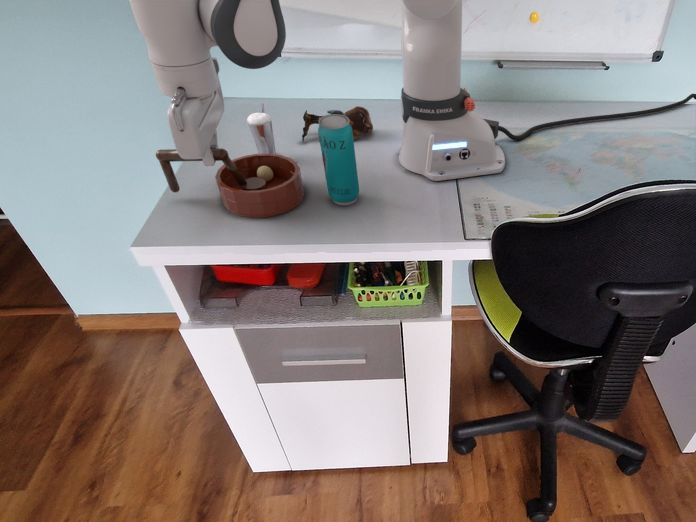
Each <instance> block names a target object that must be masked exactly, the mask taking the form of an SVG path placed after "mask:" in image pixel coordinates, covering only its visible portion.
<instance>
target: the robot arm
mask: <svg viewBox="0 0 696 522" xmlns="http://www.w3.org/2000/svg"><path fill="white" fill-rule="evenodd" d="M128 1H129V5H130V8H131V11H132V15H133V18H134V20H135V23H136V26H137V28H138V30H139V32H140V33H141V35H142V37H143V38H144V40H145V43H146V46H147V56H148V60H149V63H150V65H151V69H152V72H153V75H154V77H155V80H156V83H157V86H158V89H159V92H160V93H161V94H162V95H164V96H166V97H169V98H171V99H170V105H169V106H168V109H167V112H166V114H167V122H168V126H169V130H170V133H171V137H172V140H173V141H172V142H173V143H174V147H175V149H176V150H177V153H178V155H179V156H180V157H181V158H182V159H202V160H203V161H202V162H203V165H204V166H206V167H214V166H215V165H216V162H217V161H216V158H215V155H214V152H212V151H211V149H220V147H219V144H218V143H219V142H218V133H217V128H218V126H219V123H220V122H221V119H222V116H223V114H224V112H225V100H224V95H223V90H222V85H221V81H220V76H219V73H220V64H219V60H218V58H217V57H214V56H212V54H211V49H212V48H213V47H218V49H220V51H221V52H222V54H223V55H224V56H225V57H226V59H228V60H229V61H230V62H231V63H233V64H234V65H236V66H238V67H241V68H244V69H247V70H248V69H249V70H257V69H263V68H265V67H268V66H270V65H271V64H273V63H274V62H276V60H277V59H279V57H280V56H281V53H282V52H283V50H284V47H285V45H286V44H285V43H286V37H287V31H286V23H285V18H284V15H283V12H282V7H281V3H280V0H128ZM400 3H401V4H400V5H401V40H400V41H401V65H402V67H401V68H402V88H401V93H400V107H401V110H400V111H401V118H402V120H403V127H402V129H403V130H402V138H401V145H400V149H399V150H400V151H399V153H398V163H399V164H400V165H401V166H402V167H403V168H404V169H406V170H408V171H410V172H412V173H415V174H419V175H422V176H424V177H425V178H427V179H429V180H430V181H433V182H439V181H440V182H441V181H446V180H455V179H463V178H470V177H477V176H485V175H492V174H493V175H494V174H500V173H502V172H503V171H504V170H505V167H506V156H505V153H504V151H503V149H502V148H501V147H500V145H499V144H497V142H496V139H497V137H498V136H499V132H502V133H503V134H504V135H506V136H507V137H508V138H509V139H511V140H512V141H522V140H524V139H526V138H527V137H528V136H530V135H531V134H532V133H533V132H536V131H539V130H542V129H547V128H551V127H556V126H562V125H567V124H568V125H569V124H576V123H582V122H583V123H585V122H591V121H600V120H602V121H603V120H610V119H611V120H612V119H619V118H628V117H629V118H630V117H636V116H643V115H644V116H645V115H649V114H654V113H659V112H663V111H666V110H671V109H674V108H677V107H680V106H682V105H684V104H685V105H686V104H687V103H688V102H689V101H690V100H692V99H694V100H696V93H695V94H694V93H691V94H689V95H688V96H686V98H684V99H682V100H679V101H677V102H674V103H670V104H666V105H662V106H658V107H655V108H654V107H653V108H649V109H644V110H637V111H629V112H622V113H612V114H611V113H610V114H602V115H594V116H592V115H591V116H585V117H584V116H583V117H575V118H568V119H561V120H555V121H550V122H545V123H541V124H538V125H534V126H532V127H530V128H529V129H527V130H526V131H525V132H524V133H522V134H519V135H514V134H513V133H512V132H510V130H508V128H506V127H504V126H502V125H500V121H498V120H491V119H486V118H482V117H481V115H480V116H479V115H478V114H477V113H476V112H474V110H475V109H476V103H475V100H474V99H473V98H472V97H471V94H470V93H469V92H468V91H467V89H466V87H463V88H462V87H461V82H462V81H461V79H462V77H461V76H462V46H463V45H462V42H463V40H462V38H463V36H462V35H463V34H462V33H463V0H401V2H400Z"/></svg>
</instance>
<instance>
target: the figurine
mask: <svg viewBox="0 0 696 522" xmlns="http://www.w3.org/2000/svg"><path fill="white" fill-rule="evenodd" d="M326 113H327V114H324V115H317V114H313V113H308V110H307V109H305V111H304V114H303V115H302V120H303V121H304V127H303V128H302V132H303V133H302V135H301V141H302V143H304V142H305V138H306V137H307V136H308V133H309V130H310V127H311V126H312V125H315V124H316V125H319V119H320V118H321V117H323V116H326V115H331V114H339V115H344V116H346V117H348V118H349V123H350V125H351V127H352V132H353V140H357V138H358V135H362V134H363V135H366V134H371V133H372V132H373V130H374V124H373V122H372V120H371V114H370V112H369V110H368V109H367V108H365V107H363V106H355V107H353V108H351V109H349V110H347V111H345V112H344V111H342V110H340V109H329V110H327V111H326Z"/></svg>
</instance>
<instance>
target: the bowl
mask: <svg viewBox="0 0 696 522" xmlns="http://www.w3.org/2000/svg"><path fill="white" fill-rule="evenodd" d="M231 160H232V162H233V163H234V165H235V166H236V167H237V169H238V170H239V172H240V173H241V174H242V176H243V177H244V179H248V178H252V177H257V170H258V168H259V167H261V166H268V167H269V168H271V170H272V171H273V178H272V180H271V181H269V182H266V184H267V188H268V189H264V190H254V191H246V190H242V187H241V186H240V185H239V184H238V182H237V181H236V179H235V178H234V177H233V175H232V174H231V173H230V171H229V170H228V168H227V167H226V166H225V164H224V163H223V165H222V166H221V167H219V168H218V169H217V171H216V173H215V176H214V178H215V181H216V184H217V187H218V190H219V193H220V197H221V200H222V203H223V205H224V207H225V209H227V210H228V211H229V212H230V213H232V214H234V215H236V216H240V217H243V218H252V219H260V218H261V219H262V218H269V217H275V216H278V215H282V214H285V213H287V212H289V211H291V210H293V209H294V208H296V207H298V206H299V205H300V204H301V203H302V201H303V199H304V197H305V188H304V184H303V183H304V182H303V178H302V177H303V176H302V173H301V167H300V166H299V164H298V162H297V161H295V160H294V159H292V157H288V156H285V155H282V154H277V153H276V154H259V153H254V154H246V155H243V156H240V157H236V158H233V159H231Z"/></svg>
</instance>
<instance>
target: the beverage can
mask: <svg viewBox="0 0 696 522" xmlns="http://www.w3.org/2000/svg"><path fill="white" fill-rule="evenodd" d="M325 115H326V116H324V115H322V116H323V117H321V118H320V119H319V124H318V128H317V132H318V138H319V145H320V151H321V157H322V163H323V169H324V175H325V182H326V189H327V193H328V196H329V197H330V199H331V201H332V202H333V203H334V204H336V205H338V206H343V207H345V206H350V205H353V204H354V203H356V202H357V200H358V198H359V193H360V186H359V185H360V184H359V176H358V169H357V159H356V150H355V142H354V141H355V139H353V132H352V127H351V125H350V123H349V118H348V117H346V116H344V115H339V114H329V115H328V114H325Z"/></svg>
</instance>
